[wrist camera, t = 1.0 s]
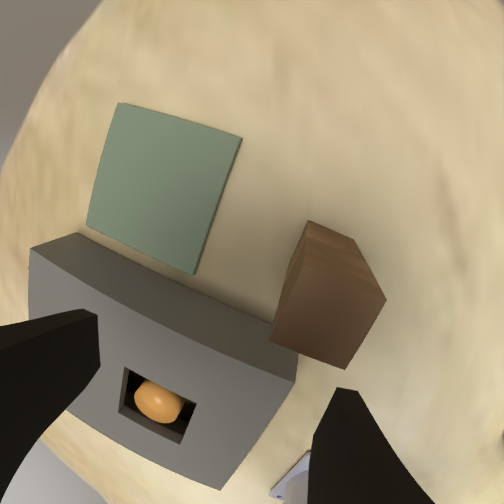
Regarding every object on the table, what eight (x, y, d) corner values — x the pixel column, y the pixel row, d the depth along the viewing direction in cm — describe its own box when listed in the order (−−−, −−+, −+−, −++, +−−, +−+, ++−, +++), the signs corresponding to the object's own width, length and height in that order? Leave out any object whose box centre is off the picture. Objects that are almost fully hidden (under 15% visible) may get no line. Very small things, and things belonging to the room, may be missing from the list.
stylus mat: (242, 138, 16) (240, 137, 15) (194, 273, 18) (192, 276, 18) (121, 103, 16) (117, 102, 16) (89, 224, 19) (85, 225, 18)
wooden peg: (353, 239, 16) (386, 300, 8) (333, 283, 17) (344, 370, 9) (308, 220, 16) (303, 264, 8) (288, 264, 17) (268, 340, 9)
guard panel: (300, 335, 18) (294, 382, 13) (234, 448, 21) (220, 490, 17) (76, 232, 19) (30, 248, 15) (66, 359, 23) (34, 385, 18)
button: (191, 386, 17) (182, 402, 15) (180, 414, 18) (172, 429, 16) (148, 366, 17) (137, 379, 16) (142, 395, 18) (131, 408, 17)
